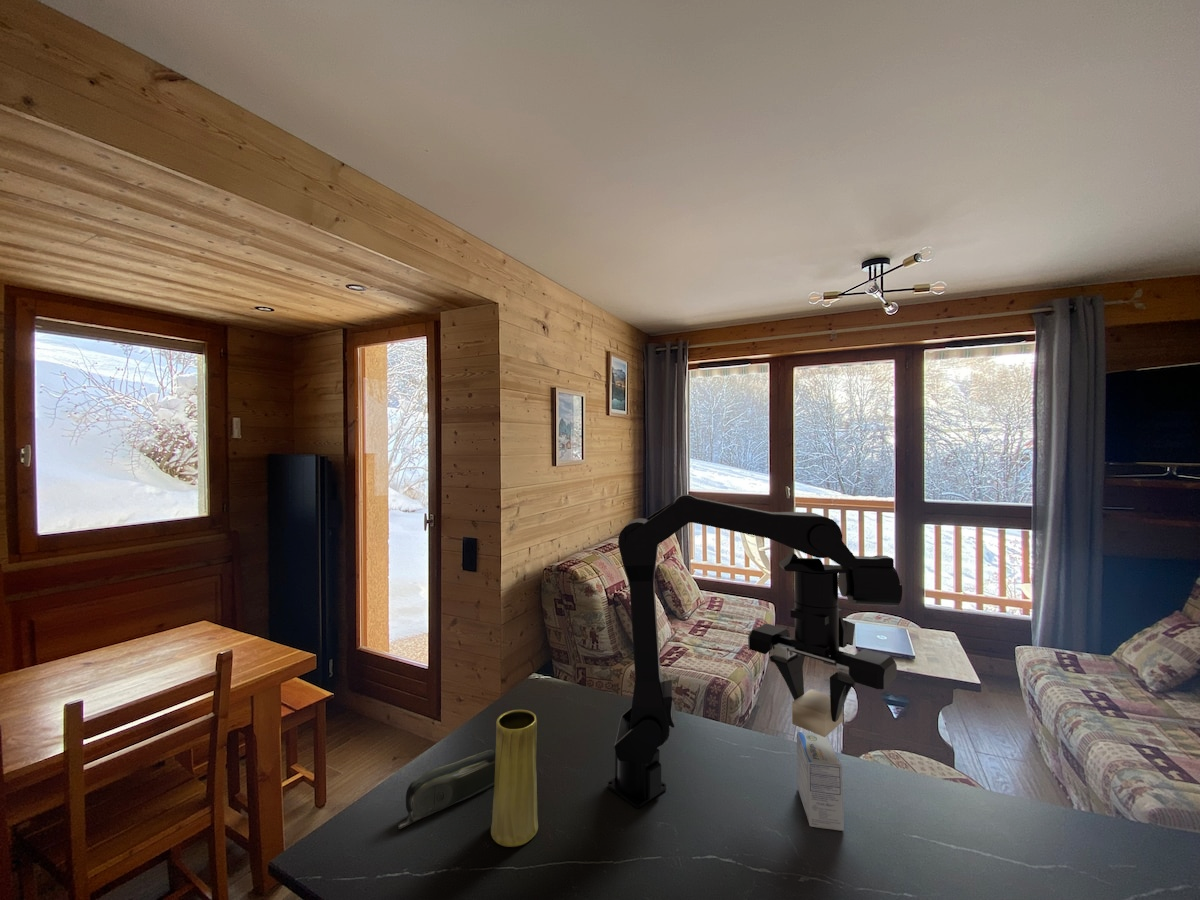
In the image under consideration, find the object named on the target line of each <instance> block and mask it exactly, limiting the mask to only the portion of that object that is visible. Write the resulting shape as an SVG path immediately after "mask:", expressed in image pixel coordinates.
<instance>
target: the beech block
mask: <svg viewBox="0 0 1200 900" xmlns="http://www.w3.org/2000/svg"><path fill="white" fill-rule="evenodd" d="M843 709H844V708H842V711H841V713H840V716H839V719H838V720H837V721H836V722H833V721H832V716H831V707H830V694H826V693H823V692H822V691H818V690H815V689H812V688H810V689H809V690H807V691H806V692H804V694H803V695H802V696H800V697H799V698H798V699H796V700H795V701H794V700H793V701H792V703H791V710H792V711H791V714H792V715H791V717H792V718H791V720H792V722H791V723H792V725H793V726H795V727H798V728H801V729H804V730H805V731H809V732H810V733H816V734H818V735H820V736H823V737H826V736H828V735H830V734H831V732H833V731H834V730H835V729H836V728H837V727H838V726H839V725H841V724H842V723H843V722H844V721H843V719H844V713H843V712H844V711H843Z"/></svg>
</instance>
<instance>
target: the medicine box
mask: <svg viewBox="0 0 1200 900" xmlns="http://www.w3.org/2000/svg"><path fill="white" fill-rule="evenodd" d="M796 770H797V772H796V777H797V778H796V779H797V780H796V782H797V784H796V785H797V791H798V793H799V797H800V800H801V802H802V806H803V810H804V812H805V815H806V818H807V821H808V825H809V827H811V828H817V829H825V830H830V831H831V830H832V831H839V832H843V831H844V830H845V828H844V827H845V826H844V781H843V779H844V778H843V765H842V763H841V761H840V759H839V757H838V754H837V752H836V751H835V748H834V746H833V745H832V743H831V740H830V738H829V736H828V735H827V736H826V737H823V736H820V735H818V734H816V733H813V732H811V731H809V732H807V731H806V732H805V731H797V734H796Z"/></svg>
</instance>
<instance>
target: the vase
mask: <svg viewBox="0 0 1200 900" xmlns="http://www.w3.org/2000/svg"><path fill="white" fill-rule="evenodd" d="M537 723H538V721H537V715H536V714H535V713H534V712H532V711H531V710H526V709H512V710H508V711H506V712H504V713H502V714H500V715H499V716H498V717H497V719H496V723H495V726H496V727H495V731H496V732H495V750H496V757H495V779H494V786H493V801H492V816H491V817H492V818H491V827H490V835H491V838H492V839H493V841H494V842H495V843H496V844H498V845H499V846H502V847H506V848H516V847H520V846H523V845H526V844H527V843H528V842H530V841H531V840H533V838H534V837H535V836H536V834H537V833H538V829H539V822H538V794H537V793H538V791H537V787H538V786H537V737H538V736H537V735H538V734H537V733H538V728H537V727H538V725H537Z"/></svg>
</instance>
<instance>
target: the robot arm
mask: <svg viewBox="0 0 1200 900" xmlns="http://www.w3.org/2000/svg"><path fill="white" fill-rule="evenodd" d="M689 523H690V524H691V523H692V524H699V525H702V526H708V527H712V528H717V529H722V530H725V531H726V530H727V531H732V532H735V533H736V532H737V533H741V534H746V535H751V536H754V537H759V538H765V539H769V540H771V541H775V542H777V543H780V544H782V545H784V546H786V547H789V548H791V549H793V550H796V551H799V552H801V553H804V554H807V555H809V556H811V558H810V557H799V556H798V555H797V554H795V552H793V551H790V552H789V553H788V555H787V556H785V558H783V559H782V560H781V561H779V562H778V563H779V564H778V565H779V566H780V567H781V569H783V570H784V571H785V572H793V582H794V583H793V584H794V588H793V589H794V594H793V595H794V608H792V609H790V618H793V619H794V636H793V637H791V633H790V632H789V629H788V628H786V627H782V626H777V625H774V624H771V623H765V624H762V625H760V626H758V627H756V628H753V629H752V630H751V631H750V632H749V634H748V636H747V648H748V649H749V650H751V651H754V652H756V653H759V654H763V655H766V654H769V652H771V651H772V652H771V653H772V654H771V656H769V662H772V663H774V664H775V666H776V667H777V669H778V671H779V673H780V675H781V676H782V678H783V680H784V682H785V684H786V686H787V688H788V690H789V692H790V694H791V696H792V698H793V701H795V700H796V699H798V698H799V697H800V696H802V695H803V694H805V686H804V670H803V668H804V661H805V657H808V658H810V659H814V660H817V661H821V662H824V663H827V664H831V665H834V666H836V669H837V670H836V671H837V672H835V673H833V674H832V675H831V676H829V695H830V707H831V716H832V721H833V722H836V721H837V720H838V719H839V716H840V713H841V711H842V708H843V707H844V706H845V704H846V703H845V702H846V700H847V697H848V695H849V693H850V691H851V689H852V688H855V687H856V686H857V685H862V686H866V687H869V688H871V689H875V690H885V689H886V688H887V687H888V686H890V684H891V683H892V682H893V681H895V680H896V679H897V678H898V672H897V671H898V670H897V668H898V666H897V663H896V661H895V660H894V658H893V657H892V655H889V654H885V653H882V652H877V651H875V650H871V649H866V648H862V649H861V650H860V651H858V652H856V654H853V653H849V652H845V651H841V650H840V648H843V649H844V648H846V647H847V646H849V645H850V646H853V645H854V638H855V637H854V636H855V629H856V623H854V622H850V621H848V620H845V619H844V617H843V616H844V615H843V610H842V608H841V609H840V608H839V593H840V595H841V596H842V597H844V598H847V601H848V602H849V604H851V605H853V606H854V605H857V606H859V605H860V606H876V607H877V606H880V607H881V606H882V607H898V606H900V604H901V601H902V599H903V585H902V584H901V582H900V581H901V580H900V577H899V574H898V572H897V569H896V568H895V565H894V562H895V561H894V560H895V559H894V558H893V557H890V556H888V555H873V556H864V555H863V556H862V555H861V556H860V555H859V556H857V555H854V553H853V552H852V551H851V550H850V548H849V547H848V546H847V545H846V544H845V543H844V541H843V533H842V530H841V528H840V526H839V525H838V523H837V521H835V520H834V519H832V518H829V517H826V516H824V515H821V514H818V513H816V512H804V511H803V512H801V511H800V512H799V511H777V512H776V511H765V510H761V509H755V508H750V507H745V506H741V505H735V504H729V503H727V502H726V503H725V502H721V501H720V502H719V501H715V500H710V499H706V498H701V497H696V496H693V495H691V494H689V493H688V494H687V493H684V494H681V495H678V496H677V497H676V498H675V500H673V501H672V502H671V503H668V504H667V505H665V506H664V507H661V509H659V510H657V511H655V512H654V513H653V514H651V515H650V516H648V517H646V518H642V517H638V518H633V519H632V520H630V521H629V522H628V523H627V524H626V525H624V527H623V529H622V530H621V531H620V533H619V535H618V540H617V544H618V549H619V554H620V558H621V563H622V566H623V568H624V572H625V575H626V577H627V581H628V584H629V599H630V600H629V601H630V615H631V616H630V617H631V629H632V630H631V632H632V646H633V649H632V650H633V663H634V666H633V667H634V678H635V679H634V686H633V692H632V701H631V706H630V707H629V708H628V709H627V710H626V711H625V712H624V713H623V714H621V716H620V720H619V723H618V729H617V734H616V738H615V741H614V777H613V778H611V779H610V780H608V781H607V782H606V784H607V785H606V787H607V788H608V789H610V790H611V791H613V792H614V793H616V794H617V795H618V796H619V797H621V798H622V799H623V800H625V801H626V802H627V803H629V804H631V805H632V806H633V807H635V808H636V809H637V808H641V807H643V806H644V805H645V804H647V803H649V801H651V800H654V798H655V797H657V796H658V795H660V794H662V793H663V792H665V791H666V790H667V784H666V783H665V782H664V781H662V763H661V761H660V757H661V756H660V755H661V754H660V753H661V752H660V750H661V749H659V748H658V747H661V746H662V745H664V743H666V741H668V740H669V738H670V731H671V728H672V729H673V728H675V712H676V711H675V707H676V706H675V702H674V700H673V685H674V684H673V681H674V680H672V679H669V680H664V677H663V675H662V672H661V662H660V649H659V647H660V646H659V633H658V632H659V631H658V630H659V629H658V617H657V603H656V601H657V600H656V587H655V583H656V582H655V576H656V575H655V574H656V567H657V557H658V552H659V551H658V549H659V545H660V544H661V543H663V542H664V541H666V540H667V539H669V538H670V537H672V536H673V535H674V534H675V533H677V532H678V531H679V530H681V529H682V528H683V527H685V526H687V525H688V524H689ZM812 557H814V558H812ZM825 558H828V559H830V560H831V561H833V562H834V563H836V564H824V563H823V561H822V560H821V559H825ZM843 709H844V708H843Z"/></svg>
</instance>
